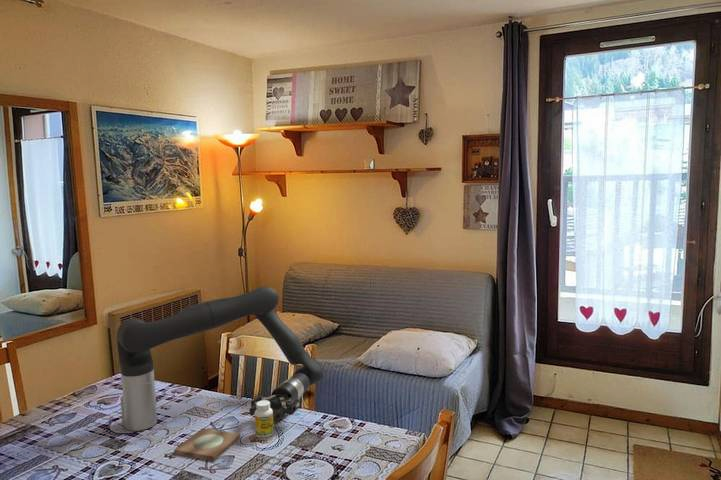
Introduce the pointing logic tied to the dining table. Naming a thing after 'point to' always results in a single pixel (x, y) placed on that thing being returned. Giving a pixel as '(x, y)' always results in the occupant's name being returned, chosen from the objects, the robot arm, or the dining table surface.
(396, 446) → the dining table surface
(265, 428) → the supplement bottle
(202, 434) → the walnut board
